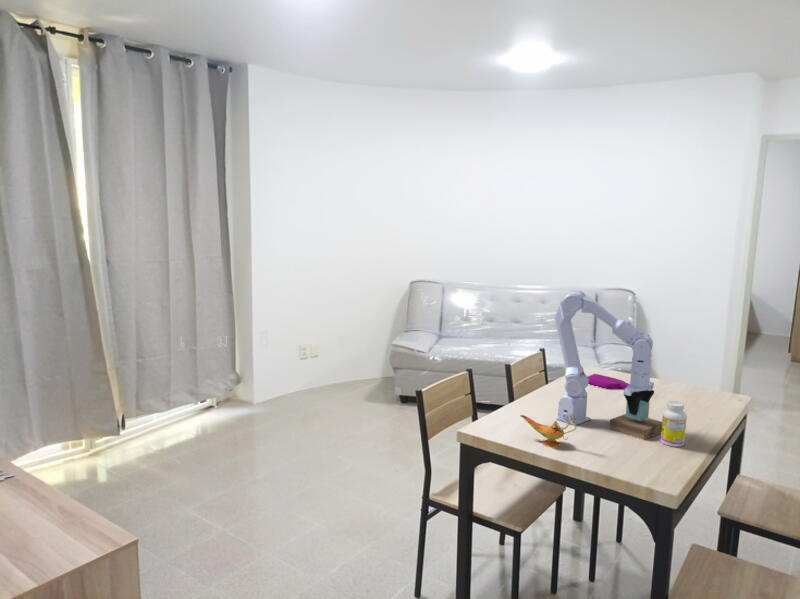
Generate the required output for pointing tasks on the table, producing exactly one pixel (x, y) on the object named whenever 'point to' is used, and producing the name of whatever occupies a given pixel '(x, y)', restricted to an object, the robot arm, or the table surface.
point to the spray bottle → (606, 382)
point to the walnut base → (636, 426)
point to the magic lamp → (549, 431)
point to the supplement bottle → (674, 424)
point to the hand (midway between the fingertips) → (637, 412)
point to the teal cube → (639, 411)
